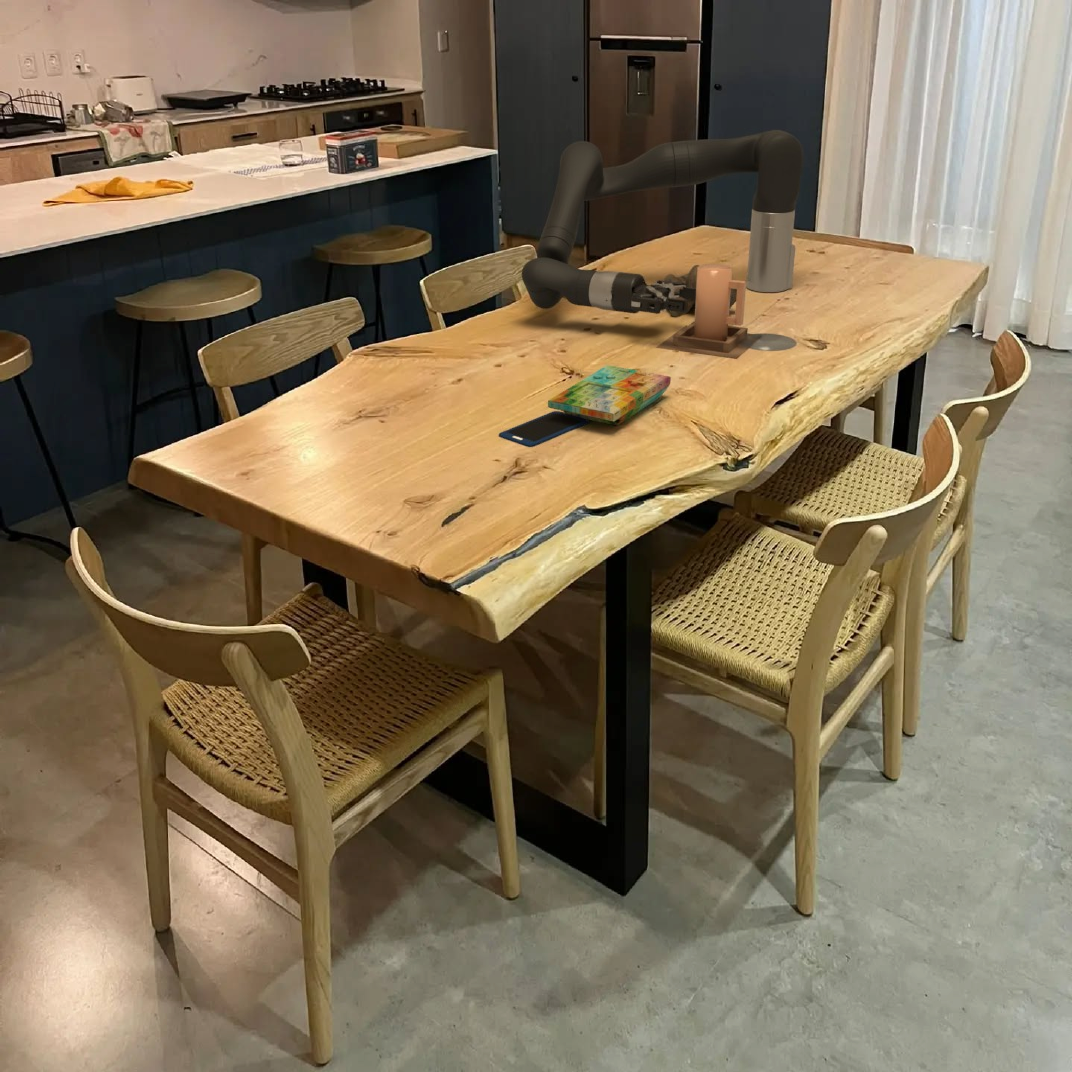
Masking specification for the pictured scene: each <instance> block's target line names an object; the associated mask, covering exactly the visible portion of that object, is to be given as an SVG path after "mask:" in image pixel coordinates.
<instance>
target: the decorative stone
mask: <svg viewBox="0 0 1072 1072" xmlns="http://www.w3.org/2000/svg"><path fill="white" fill-rule="evenodd" d="M698 266H700V265H699V264H696V265H694V266H692V267H691V268H690V271H689V272H688V273H686V274H684V275H681V276H675V274H673V273H669V274H667V275H666V276H665V277H664V280H663V281H670V282H681V283H682V282H684V283H686V287H690V288H696V284H697V267H698ZM675 292H679V289H678V290H675ZM668 297H669V295H668ZM736 297H737V289H733V288H731V293H730V307H729V310H730V309H731V308H732V307H733V305H734V304H736ZM683 300H687V299H683ZM687 301H688V310H687V311H686V312H677V311H669V314H670V316H671V317H673V318H679V317H680V316H683V315H687V314H688V313H689V311H690V310H691V308H692V307H694V308H695V302H696V300H687Z"/></svg>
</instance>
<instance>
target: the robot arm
mask: <svg viewBox="0 0 1072 1072" xmlns="http://www.w3.org/2000/svg"><path fill="white" fill-rule="evenodd" d="M602 155H603V154H602V153H601V151H600V149H599V147H598V146H597V145H595V143H592V142H590V141H587V140H586V141H585V140H581V141H575V142H573V143H571V144H569V145H568V146H567V147H566V148H565V149H564V150H563V151H562V154H561V156H560V161H559V170H558V171H559V172H558V177H557V178H558V179H557V183H556V188H555V190H554V196H553V199H552V202H551V205H550V209H549V212H548V216H547V219H546V222H545V225H544V227H543V230H542V231H541V232H542V233H541V235H540V238H539V240H538V242H537V247H536V257H535V258H533V259H531V260H529V261H527V262H526V263H525V264H524V266H523V267H522V269H521V278H522V279H521V280H522V283H523V284H524V286H525V289H526V291H527V293H528V296H529V298H530V300H531V302H532V303H533V304H534V305H535V306H536V307H537V308H539V309H543V310H544V309H545V310H547V309H550V308H553V307H555V306H556V305H558V304H559V302H560V301H561V300H562V299H563V297H564V298H565V299H566V301H568V302H569V303H570V304H572V305H575V306H581V307H590V308H596V309H600V310H604V311H613V312H619V313H629V314H638V313H639V312H643V313H650V314H655V315H659V314H661V312H667V311H669V312H670V311H677V312H686V311H687V310H688V301H687V300H696V288H690V287H686V283H684V282H682V283H681V282H670V281H664V280H657V281H656V282H654V283H652V282H651V283H650V284H648V283H646V281H645V278H644V276H643V275H642V274H640V273H634V272H633V273H631V272H622V271H613V270H611V271H610V270H603V271H602V270H600V271H599V270H592V269H582V268H581V269H580V268H577V267H575V266H574V265H573V266H572V265H571V264H569V260H570V257H571V256H572V255H571V254H572V251H573V248H574V245H575V243H576V239H577V235H578V232H579V227H580V226H579V225H580V220H581V215H582V214H581V213H582V208H583V202H585V201H586V202H587V201H593V200H598V199H604V198H607V197H612V196H618V195H621V194H622V195H623V194H628V193H632V192H633V193H634V192H640V191H648V190H655V189H664V188H665V189H666V188H677V187H678V188H679V187H689V186H694V185H699V184H703V183H706V182H709V181H713V180H716V179H718V178H721V177H725V176H728V175H733V174H749V173H750V174H753V173H754V174H756V173H757V184H756V191H755V194H754V195H753V198H752V205H751V207H752V208H751V221H750V234H749V244H748V245H749V248H748V260H747V261H748V262H747V274H746V288H747V289H749V290H750V291H755V292H758V293H759V292H760V293H777V292H778V293H779V292H784V291H786V290H789V289H792V287H793V280H794V279H793V278H794V277H793V276H794V267H795V256H796V245H795V244H793V237H794V226H795V225H794V224H795V215H796V213H795V212H796V205H797V200H798V199H799V194H800V189H801V181H802V171H803V164H804V150H803V146H802V143H801V141H800V140H799V139H798V138H796V136H794V135H793V134H791V133H789V132H787V131H784V130H781V129H772V130H768V131H767V130H766V131H763V132H759V133H755V134H751V135H746V136H745V135H744V136H740V137H733V138H725V139H724V138H723V139H722V138H721V139H720V138H717V139H716V138H712V139H711V138H710V139H709V138H708V139H691V140H689V139H688V140H679V141H670V142H664V143H661V144H658V145H657V146H654V147H652V148H651V149H649V150H647V151H646V152H643V153H642V154H641V155H639V156H638V157H636V158H635V159H632V160H631V161H628V162H627V163H624V164H620V165H616V166H610V167H609V166H608V167H604V163H603V162H604V161H603V157H602ZM678 289H679V292H675V290H678ZM668 295H669V297H668ZM683 299H687V300H683Z"/></svg>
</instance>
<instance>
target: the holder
mask: <svg viewBox="0 0 1072 1072" xmlns="http://www.w3.org/2000/svg"><path fill="white" fill-rule="evenodd" d="M750 334H751V335H752V334H753V333H748V327H744V326H743V327H742V326H736V325H734V326H733V325H728V336H727V341H726V342H725V341H717V340H710V339H702V338H694V321H692V322H691V323H690V324H688V325H684V326H683V327H682V328H680V329H679V330H678V331H676V332H675V333H674V334H672V335H671V336H669V337H668V338H666V339H665V340H663V342H661V343H660V344H658V345H657V346H655V348H656V349H663V350H669V351H676V352H677V351H678V352H683V353H690V354H696V355H705V356H706V355H707V356H712V357H720V358H727V359H734V360H738V359H739V358H740V357H741V356H742V355H743V354H745V352H747V351H748V350H749V349H750V347H749V348H747V347H746V346H745V347H744V346H742V345H741V344H740V343H741V342H742V341H743V340H744V339H745V340H746V338H747V336H749V335H750ZM760 336H761V335H760ZM754 337H755V336H754ZM752 339H753V341H754V342H755V340H756V338H755V339H754V338H752V337H751V342H752ZM759 339H760V338H759ZM757 340H758V339H757ZM746 341H747V340H746ZM749 341H750V340H749ZM754 342H753V343H754ZM744 344H745V343H744ZM749 344H751V343H749ZM751 345H752V344H751Z"/></svg>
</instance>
